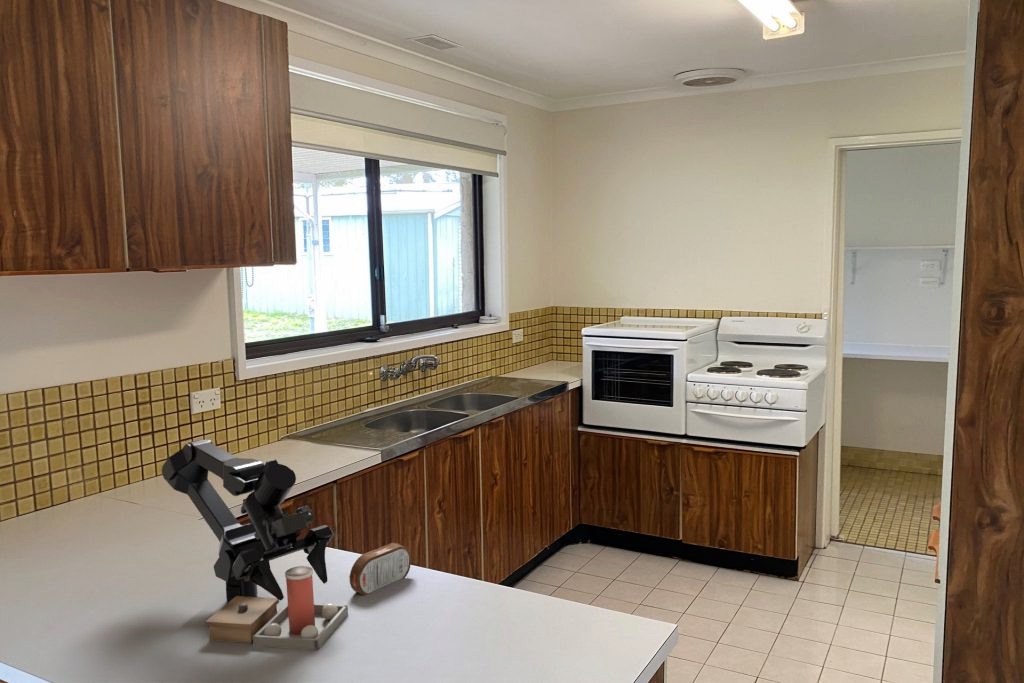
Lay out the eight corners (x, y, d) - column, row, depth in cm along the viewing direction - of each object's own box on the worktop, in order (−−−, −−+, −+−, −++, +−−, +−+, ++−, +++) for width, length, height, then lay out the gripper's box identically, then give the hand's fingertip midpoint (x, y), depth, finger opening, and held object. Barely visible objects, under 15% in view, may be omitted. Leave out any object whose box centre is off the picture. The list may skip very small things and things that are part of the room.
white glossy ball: (305, 637, 142) (304, 621, 142) (321, 638, 142) (320, 622, 142) (298, 645, 140) (297, 629, 139) (314, 646, 139) (313, 630, 139)
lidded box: (237, 617, 153) (236, 591, 152) (280, 620, 151) (278, 593, 151) (206, 645, 142) (204, 616, 142) (252, 648, 141) (250, 619, 140)
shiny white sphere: (269, 635, 144) (268, 619, 143) (285, 636, 143) (283, 620, 143) (261, 643, 141) (260, 627, 140) (277, 644, 140) (276, 628, 140)
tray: (289, 614, 154) (288, 602, 154) (348, 617, 152) (347, 605, 151) (253, 650, 140) (252, 636, 140) (317, 654, 138) (316, 640, 138)
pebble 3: (326, 615, 151) (325, 599, 151) (341, 615, 151) (340, 600, 150) (319, 622, 148) (318, 606, 148) (334, 623, 148) (333, 607, 147)
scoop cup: (301, 620, 149) (297, 564, 148) (321, 625, 147) (318, 568, 146) (282, 632, 145) (279, 574, 144) (303, 637, 143) (299, 578, 141)
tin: (404, 574, 172) (402, 537, 171) (414, 578, 170) (412, 540, 169) (349, 599, 160) (347, 558, 159) (359, 603, 158) (357, 562, 157)
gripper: (236, 508, 139) (273, 585, 133) (325, 483, 153) (364, 552, 146) (216, 541, 145) (252, 616, 139) (304, 515, 159) (340, 582, 153)
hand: (304, 590), depth 144 cm, fingers open, 9 cm apart
